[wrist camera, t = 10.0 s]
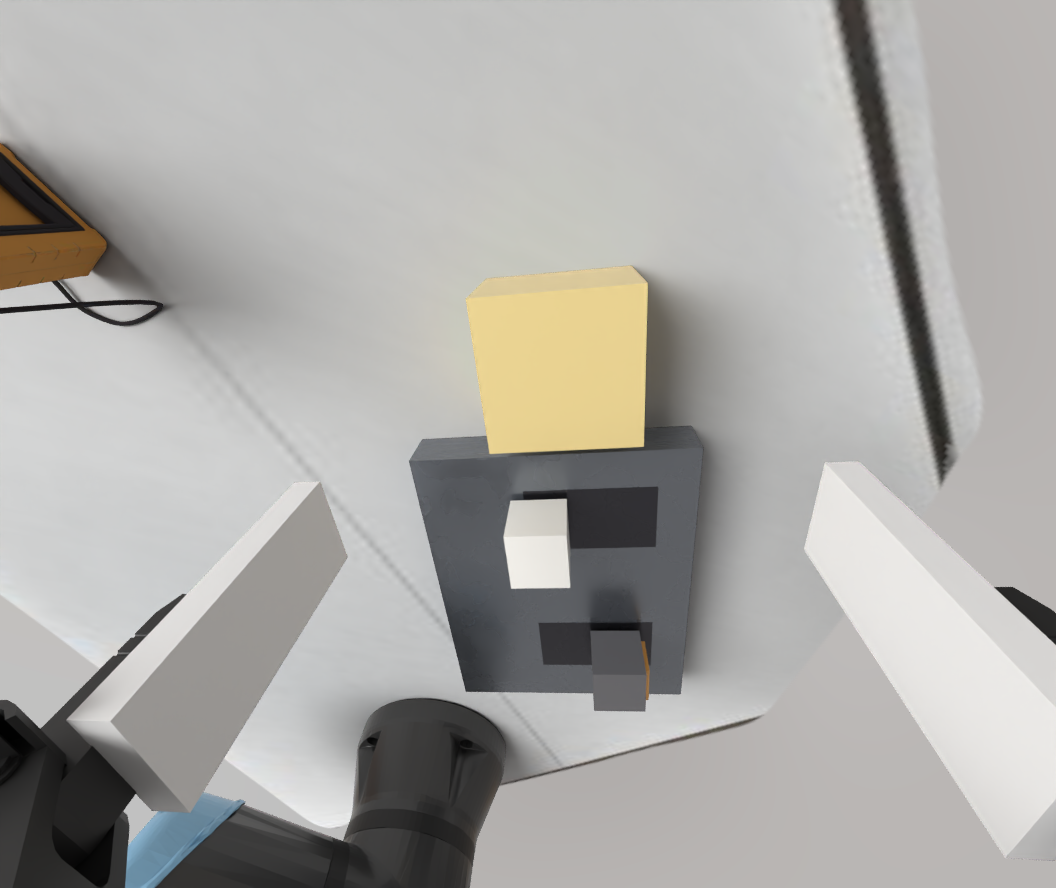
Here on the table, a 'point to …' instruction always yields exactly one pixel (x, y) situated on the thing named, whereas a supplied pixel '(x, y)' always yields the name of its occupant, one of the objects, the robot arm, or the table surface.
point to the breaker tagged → (619, 671)
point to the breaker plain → (538, 544)
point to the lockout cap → (561, 359)
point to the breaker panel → (595, 556)
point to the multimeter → (46, 241)
